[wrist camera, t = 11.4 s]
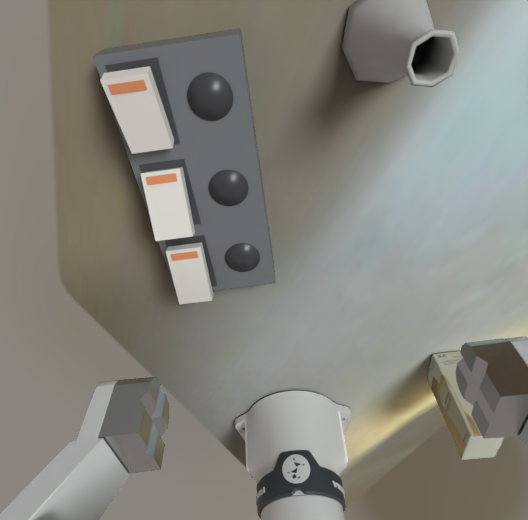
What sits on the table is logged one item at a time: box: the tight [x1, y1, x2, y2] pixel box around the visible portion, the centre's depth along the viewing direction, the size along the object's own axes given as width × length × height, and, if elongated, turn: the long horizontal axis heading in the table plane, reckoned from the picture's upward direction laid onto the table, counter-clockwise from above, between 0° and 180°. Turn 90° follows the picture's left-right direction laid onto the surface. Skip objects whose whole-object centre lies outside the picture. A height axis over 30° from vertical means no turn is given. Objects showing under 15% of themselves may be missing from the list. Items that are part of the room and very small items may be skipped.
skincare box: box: [427, 351, 504, 460], centre depth 53 cm, size 6×4×12 cm
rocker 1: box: [100, 66, 174, 154], centre depth 30 cm, size 6×3×1 cm, turn 7°
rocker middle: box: [140, 167, 195, 241], centre depth 35 cm, size 6×3×1 cm, turn 7°
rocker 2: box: [166, 242, 213, 304], centre depth 40 cm, size 6×3×1 cm, turn 7°
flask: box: [342, 0, 460, 87], centre depth 28 cm, size 7×7×10 cm
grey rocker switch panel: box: [93, 29, 276, 294], centre depth 37 cm, size 24×11×4 cm, turn 7°
